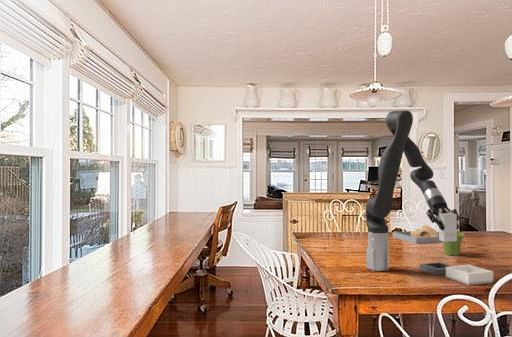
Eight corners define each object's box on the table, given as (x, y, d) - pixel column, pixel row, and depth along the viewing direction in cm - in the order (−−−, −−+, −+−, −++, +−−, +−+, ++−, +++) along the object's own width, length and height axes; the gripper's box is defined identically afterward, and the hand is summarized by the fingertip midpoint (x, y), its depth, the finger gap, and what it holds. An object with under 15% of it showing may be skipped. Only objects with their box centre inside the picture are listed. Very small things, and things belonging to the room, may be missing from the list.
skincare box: (451, 239, 182) (451, 212, 182) (457, 241, 177) (457, 214, 177) (438, 240, 181) (438, 213, 181) (444, 242, 176) (444, 214, 176)
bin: (468, 285, 161) (468, 273, 161) (445, 277, 173) (445, 266, 173) (493, 282, 165) (493, 271, 165) (469, 274, 177) (469, 264, 177)
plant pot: (444, 251, 227) (444, 231, 227) (467, 254, 218) (467, 233, 218) (436, 254, 219) (436, 233, 219) (459, 258, 210) (459, 236, 210)
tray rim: (416, 243, 251) (416, 238, 251) (392, 237, 274) (392, 232, 274) (448, 241, 258) (448, 235, 258) (423, 235, 281) (423, 230, 281)
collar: (436, 275, 177) (436, 269, 177) (419, 269, 187) (419, 263, 187) (456, 273, 180) (456, 267, 180) (439, 267, 190) (439, 262, 191)
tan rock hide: (428, 253, 254) (428, 243, 251) (407, 244, 265) (407, 234, 262) (443, 239, 264) (443, 230, 260) (422, 232, 274) (422, 222, 271)
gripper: (423, 194, 185) (438, 224, 174) (452, 194, 187) (469, 223, 176) (417, 205, 191) (431, 234, 179) (445, 204, 193) (461, 233, 181)
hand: (450, 229), depth 177 cm, fingers closed on skincare box, 6 cm apart
